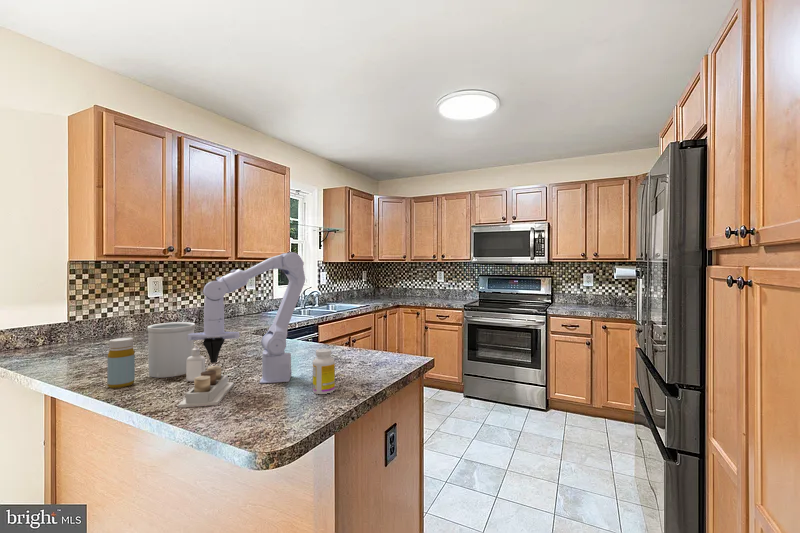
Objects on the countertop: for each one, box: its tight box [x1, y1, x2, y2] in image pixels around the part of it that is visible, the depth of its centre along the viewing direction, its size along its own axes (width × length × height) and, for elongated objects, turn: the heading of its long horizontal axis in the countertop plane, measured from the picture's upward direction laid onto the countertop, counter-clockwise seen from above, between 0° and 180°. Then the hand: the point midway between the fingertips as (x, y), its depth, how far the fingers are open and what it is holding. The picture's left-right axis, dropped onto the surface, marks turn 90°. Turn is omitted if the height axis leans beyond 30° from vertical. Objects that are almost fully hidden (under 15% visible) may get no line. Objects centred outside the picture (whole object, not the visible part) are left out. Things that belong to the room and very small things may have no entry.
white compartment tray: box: [177, 374, 235, 409], centre depth 109 cm, size 10×18×4 cm, turn 12°
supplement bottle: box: [312, 348, 336, 395], centre depth 111 cm, size 7×7×13 cm
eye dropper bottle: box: [185, 344, 206, 382], centre depth 123 cm, size 4×6×12 cm
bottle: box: [106, 337, 136, 389], centre depth 118 cm, size 7×7×15 cm
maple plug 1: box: [193, 376, 210, 393], centre depth 103 cm, size 4×4×4 cm
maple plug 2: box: [206, 365, 222, 380], centre depth 114 cm, size 4×4×4 cm
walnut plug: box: [201, 370, 216, 386], centre depth 109 cm, size 4×4×4 cm
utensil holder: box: [147, 321, 196, 378], centre depth 133 cm, size 15×15×18 cm
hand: (214, 362), depth 114 cm, fingers closed
